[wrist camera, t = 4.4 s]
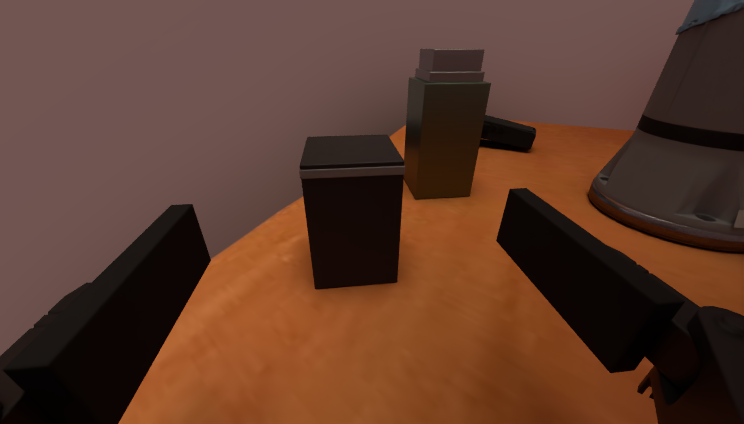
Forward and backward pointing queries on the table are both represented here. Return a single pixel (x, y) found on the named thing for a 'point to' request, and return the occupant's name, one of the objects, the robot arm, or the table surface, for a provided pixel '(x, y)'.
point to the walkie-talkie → (506, 134)
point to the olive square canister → (444, 122)
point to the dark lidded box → (353, 208)
